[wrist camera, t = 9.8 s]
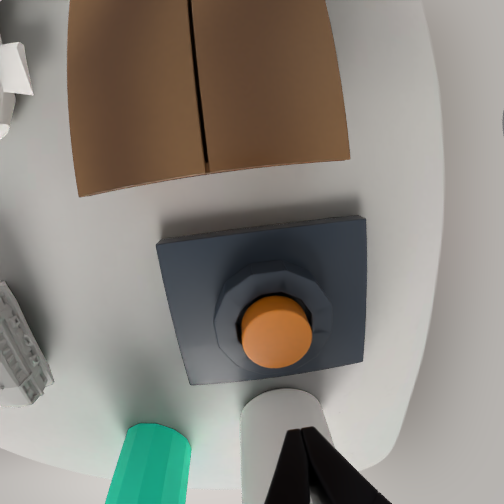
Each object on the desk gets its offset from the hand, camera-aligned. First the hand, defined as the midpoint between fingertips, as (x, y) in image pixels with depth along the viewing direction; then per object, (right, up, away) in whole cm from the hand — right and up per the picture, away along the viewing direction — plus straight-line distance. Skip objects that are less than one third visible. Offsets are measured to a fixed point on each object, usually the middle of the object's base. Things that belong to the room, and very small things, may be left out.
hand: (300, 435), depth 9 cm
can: (+1, -7, +14) cm, 16 cm away
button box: (0, +2, +11) cm, 12 cm away
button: (0, +2, +9) cm, 9 cm away
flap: (-1, +15, +1) cm, 15 cm away
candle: (-10, -11, +15) cm, 21 cm away
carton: (-4, +16, +7) cm, 18 cm away
